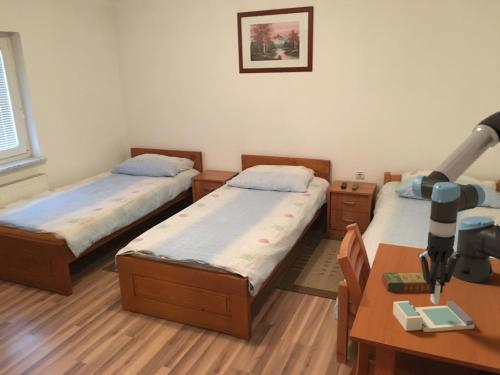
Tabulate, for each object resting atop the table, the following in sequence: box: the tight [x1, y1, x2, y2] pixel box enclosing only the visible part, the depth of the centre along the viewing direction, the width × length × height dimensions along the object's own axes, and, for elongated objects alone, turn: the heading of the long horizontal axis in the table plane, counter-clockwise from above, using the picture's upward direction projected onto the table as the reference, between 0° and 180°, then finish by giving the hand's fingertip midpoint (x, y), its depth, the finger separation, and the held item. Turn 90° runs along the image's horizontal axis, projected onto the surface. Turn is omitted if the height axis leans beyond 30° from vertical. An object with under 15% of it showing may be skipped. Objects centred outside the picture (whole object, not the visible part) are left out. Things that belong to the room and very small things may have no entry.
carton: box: [381, 271, 429, 293], centre depth 161 cm, size 8×16×4 cm, turn 88°
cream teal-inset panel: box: [414, 300, 475, 333], centre depth 139 cm, size 16×12×3 cm
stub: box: [392, 300, 422, 332], centre depth 138 cm, size 5×10×4 cm, turn 5°
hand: (434, 302), depth 137 cm, fingers closed
